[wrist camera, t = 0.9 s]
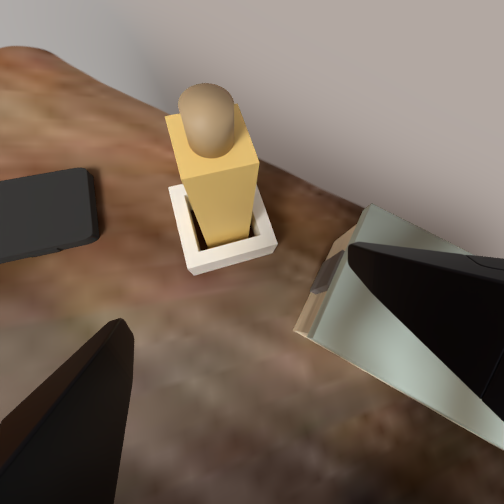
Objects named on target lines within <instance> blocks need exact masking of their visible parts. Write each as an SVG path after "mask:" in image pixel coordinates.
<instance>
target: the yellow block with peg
mask: <svg viewBox="0 0 504 504" xmlns="http://www.w3.org/2000/svg"><path fill="white" fill-rule="evenodd" d="M178 107H179V111H180V114H175V115H170V116H165V119H166V122H167V126H168V130H169V134H170V138H171V142H172V146H173V150H174V153H175V157H176V161H177V165H178V169H179V173H180V177H181V180H182V183H183V185H184V188H185V190H186V193H187V195H188V198H189V201H190V203H191V206H192V208H193V211H194V213H195V216H196V218H197V221H198V223H199V226H200V228H201V231H202V233H203V236H204V238H205V241H206V243H207V246H208V248H209V249H211V248H215V247H218V246H222V245H226V244H229V243H233V242H237V241H240V240H244V239H248V236H249V229H250V223H251V216H252V209H253V203H254V196H255V189H256V182H257V176H258V169H259V160H258V157H257V155H256V152H255V149H254V147H253V144H252V141H251V139H250V136H249V133H248V130H247V128H246V125H245V122H244V120H243V117H242V114H241V112H240V109H239V106H238V104H234V101H233V98H232V96H231V95H230V94H229V92H228V91H227V90H225V89H224V88H222V87H220V86H218V85H215V84H209V83H202V84H196V85H194V86H191V87H189V88H188V89H186V90H185V91H184V92H183V93H182V94H181V96H180V98H179V102H178Z"/></svg>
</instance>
